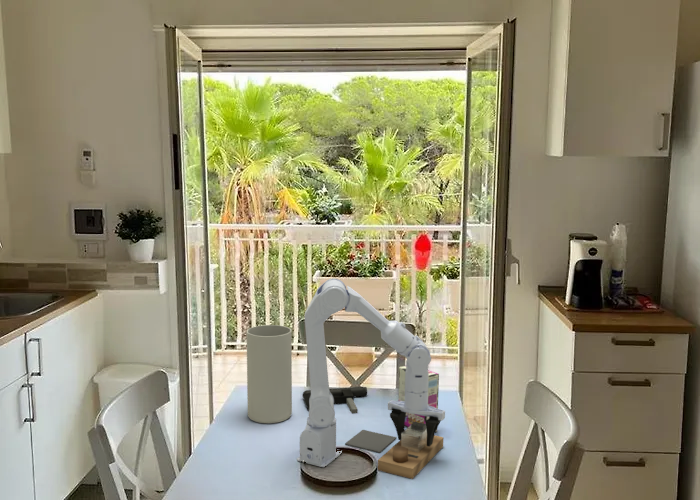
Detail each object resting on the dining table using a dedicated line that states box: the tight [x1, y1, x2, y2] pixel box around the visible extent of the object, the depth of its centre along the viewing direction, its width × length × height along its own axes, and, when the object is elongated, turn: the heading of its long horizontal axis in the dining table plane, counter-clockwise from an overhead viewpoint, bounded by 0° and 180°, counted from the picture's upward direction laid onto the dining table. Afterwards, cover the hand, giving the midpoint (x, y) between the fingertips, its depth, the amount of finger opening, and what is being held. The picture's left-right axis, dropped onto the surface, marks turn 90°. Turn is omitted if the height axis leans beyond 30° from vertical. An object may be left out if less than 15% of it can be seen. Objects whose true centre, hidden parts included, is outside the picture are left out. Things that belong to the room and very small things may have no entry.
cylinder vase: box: [246, 324, 293, 424], centre depth 192 cm, size 12×12×25 cm
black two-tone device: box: [302, 386, 368, 414], centre depth 203 cm, size 3×20×16 cm
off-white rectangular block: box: [401, 422, 427, 452], centre depth 169 cm, size 7×4×5 cm, turn 152°
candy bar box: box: [397, 365, 440, 433], centre depth 185 cm, size 11×5×16 cm, turn 39°
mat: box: [344, 429, 397, 454], centre depth 177 cm, size 10×10×1 cm
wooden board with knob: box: [377, 435, 444, 480], centre depth 167 cm, size 20×9×5 cm, turn 152°
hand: (415, 441), depth 169 cm, fingers open, 7 cm apart
